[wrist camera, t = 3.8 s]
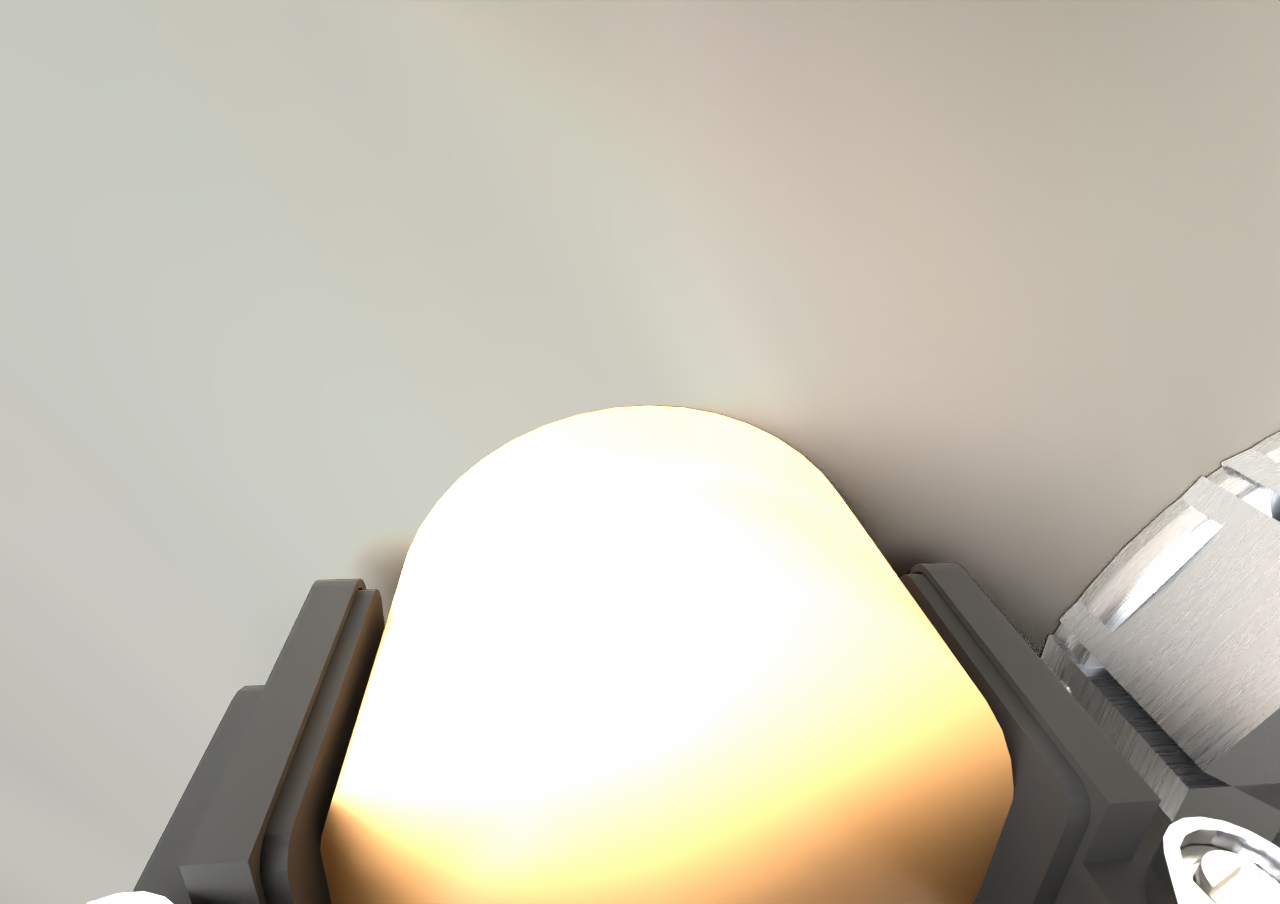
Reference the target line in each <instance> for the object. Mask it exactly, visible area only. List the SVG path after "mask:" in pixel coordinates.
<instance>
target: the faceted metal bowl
mask: <svg viewBox="0 0 1280 904" xmlns="http://www.w3.org/2000/svg"><path fill="white" fill-rule="evenodd" d="M1221 463H1222V467H1221V468H1220V469H1218V470H1217V471H1215V472H1214V473H1212V474H1211V475H1210V476H1208V477H1207V478H1205V477H1204V476H1202V477H1201V478H1200V479H1199V480H1198V481H1197V482H1196V483H1195V484H1194V485H1193V486H1192V487H1191V488H1190V489H1189V490H1188V491H1187V492H1186V493H1185V494H1184V495H1183V496H1182V497H1181V498H1180V499H1178V500H1177V501H1176V502H1175V503H1173V504H1172V505H1171V506H1169V507H1168V508H1167V509H1166V510H1164V511H1163V512H1162V513H1161V514H1160V515H1159V516H1158V517H1157V518H1156V519H1155V520H1154V521H1152V522H1151V523H1150V524H1149V525H1148V526H1147V527H1146V528H1145V529H1144V530H1143V531H1142V532H1141V533H1139V534H1138V535H1137V536H1136V537H1135V538H1134V539H1133V540H1132V541H1131V542H1130V543H1129V544H1127V545H1126V546H1125V547H1124V548H1123V549H1122V550H1121V551H1120V553H1119V554H1118V555H1117V556H1116V557H1115V558H1114V559H1113V560H1112V561H1111V562H1110V564H1109V565H1108V566H1107V567H1106V568H1105V569H1104V570H1103V571H1102V572H1101V574H1100V575H1099V576H1098V577H1097V578H1096V579H1095V580H1094V581H1093V582H1092V583H1091V585H1090V586H1089V587H1088V588H1087V589H1086V591H1085V592H1084V593H1083V595H1082V596H1081V597H1080V599H1079V600H1078V601H1077V602H1076V603H1075V604H1074V605H1073V606H1072V607H1071V608H1070V609H1069V610H1068V611H1067V612H1066V613H1065V614H1064V615H1063V616H1062V617H1061V618H1060V619H1059V621H1060V622H1061V624H1060V626H1059V627H1058V629H1057V630H1056V632H1055V634H1054V635H1049V636H1048V639H1047V642H1046V645H1045V647H1044V650H1043V653H1042V656H1041V658H1040V659H1041V660H1042V661H1043V662H1044V663H1045V664H1046V666H1047V667H1048V668H1049V669H1050V670H1051V671H1052V673H1053V674H1054V675H1055V676H1056V677H1057V678H1058V680H1059V681H1060V682H1061V683H1062V684H1063V686H1064V687H1065V688H1066V689H1067V690H1068V691H1069V693H1070V694H1071V695H1072V696H1073V697H1074V698H1075V700H1076V701H1077V702H1078V703H1079V704H1080V705H1081V707H1082V708H1083V709H1084V710H1085V711H1086V712H1087V714H1088V715H1089V716H1090V717H1091V718H1092V719H1093V721H1094V722H1095V723H1096V724H1097V725H1098V727H1099V728H1100V729H1101V730H1102V731H1103V732H1104V734H1105V735H1106V736H1107V737H1108V738H1109V739H1110V741H1111V742H1112V743H1113V744H1114V745H1115V746H1116V748H1117V749H1118V750H1119V751H1120V752H1121V753H1122V755H1123V756H1124V757H1125V758H1126V759H1127V760H1128V762H1129V763H1130V764H1131V765H1132V766H1133V767H1134V769H1135V770H1136V771H1137V772H1138V773H1139V775H1140V776H1141V777H1142V778H1143V779H1144V780H1145V782H1146V783H1147V784H1148V785H1149V786H1150V787H1151V789H1152V790H1153V791H1154V792H1155V793H1156V794H1157V796H1158V797H1159V798H1160V799H1161V802H1160V804H1159V807H1160V808H1161V809H1162V810H1163V811H1164V813H1165V814H1166V815H1167V816H1168V817H1169V818H1170V820H1171V821H1172V822H1173V823H1174V822H1176V821H1178V820H1180V819H1182V818H1190V817H1206V818H1211V819H1217V820H1222V821H1226V822H1229V823H1231V824H1234V825H1236V826H1239V827H1241V828H1244V829H1247V830H1249V831H1251V832H1253V833H1255V834H1257V835H1258V836H1260V837H1262V838H1264V839H1265V840H1267V841H1269V842H1271V843H1272V844H1274V845H1276V846H1277V847H1279V848H1280V432H1278V433H1276V434H1274V435H1272V436H1270V437H1269V438H1267V439H1265V440H1263V441H1262V442H1260V443H1259V444H1257V445H1256V446H1254V447H1252V448H1251V449H1249V450H1247V451H1245V452H1242V453H1240V454H1238V455H1236V456H1234V457H1232V458H1230V459H1227V460H1225V461H1223V462H1221Z"/></svg>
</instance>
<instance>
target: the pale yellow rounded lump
mask: <svg viewBox="0 0 1280 904" xmlns="http://www.w3.org/2000/svg"><path fill="white" fill-rule="evenodd" d="M1013 792H1014V787H1013V776H1012V765H1011V758H1010V755H1009V751H1008V748H1007V745H1006V742H1005V738H1004V735H1003V732H1002V729H1001V727H1000V725H999V723H998V722H997V720H996V718H995V716H994V714H993V712H992V711H991V709H990V707H989V705H988V703H987V701H986V700H985V698H984V697H983V696H982V694H981V693H980V691H979V690H978V689H977V687H976V686H975V684H974V683H973V682H972V680H971V679H970V677H969V676H968V675H967V673H966V672H965V670H964V669H963V667H962V666H961V665H960V663H959V662H958V660H957V659H956V658H955V656H954V655H953V653H952V652H951V651H950V649H949V648H948V646H947V645H946V644H945V642H944V641H943V639H942V638H941V636H940V635H939V634H938V632H937V631H936V629H935V628H934V627H933V625H932V624H931V622H930V621H929V620H928V618H927V617H926V615H925V614H924V613H923V611H922V610H921V608H920V607H919V606H918V604H917V603H916V601H915V600H914V598H913V597H912V596H911V594H910V593H909V591H908V590H907V589H906V587H905V586H904V584H903V583H902V582H901V580H900V579H899V577H898V576H897V575H896V573H895V572H894V570H893V569H892V568H891V566H890V565H889V563H888V562H887V560H886V559H885V558H884V556H883V555H882V553H881V552H880V551H879V549H878V548H877V546H876V545H875V544H874V542H873V541H872V539H871V538H870V537H869V535H868V534H867V532H866V531H865V529H864V528H863V527H862V525H861V524H860V522H859V521H858V520H857V518H856V517H855V515H854V514H853V513H852V511H851V510H850V508H849V507H848V506H847V504H846V503H845V501H844V500H843V499H842V497H841V496H840V494H839V493H838V492H837V491H836V489H835V488H834V487H833V486H832V484H831V483H830V482H829V481H828V479H827V478H826V477H825V476H824V474H823V473H822V472H821V471H820V470H819V469H817V468H816V467H815V466H814V465H813V464H812V463H811V462H810V461H809V460H808V459H806V458H805V457H804V456H803V455H802V454H801V453H799V452H798V451H796V450H795V449H793V448H792V447H790V446H789V445H787V444H786V443H784V442H783V441H781V440H780V439H778V438H777V437H775V436H773V435H771V434H769V433H767V432H765V431H762V430H760V429H758V428H756V427H754V426H752V425H750V424H748V423H745V422H742V421H738V420H735V419H732V418H729V417H726V416H723V415H720V414H717V413H711V412H706V411H700V410H695V409H689V408H684V407H667V406H649V405H648V406H633V407H618V408H610V409H605V410H599V411H594V412H589V413H584V414H578V415H575V416H572V417H569V418H566V419H563V420H560V421H556V422H553V423H550V424H547V425H544V426H542V427H540V428H538V429H535V430H533V431H531V432H529V433H527V434H525V435H522V436H520V437H518V438H516V439H514V440H512V441H510V442H509V443H507V444H505V445H504V446H502V447H501V448H499V449H497V450H496V451H494V452H493V453H491V454H489V455H488V456H486V457H485V458H483V459H482V460H481V461H480V462H478V463H477V464H476V465H475V466H474V467H472V468H471V469H470V470H469V471H467V472H466V473H465V474H464V475H463V476H461V477H460V478H459V479H458V480H457V481H456V482H455V483H454V484H453V485H452V487H451V488H450V489H449V490H448V491H447V492H446V493H445V494H444V495H443V496H442V497H441V498H440V500H439V501H438V502H437V503H436V505H435V506H434V507H433V509H432V510H431V512H430V513H429V515H428V516H427V518H426V519H425V521H424V522H423V524H422V525H421V526H420V528H419V530H418V532H417V535H416V537H415V539H414V541H413V543H412V545H411V547H410V549H409V551H408V553H407V557H406V560H405V563H404V566H403V570H402V573H401V576H400V580H399V583H398V586H397V589H396V593H395V596H394V599H393V602H392V606H391V609H390V612H389V615H388V619H387V622H386V625H385V629H384V632H383V635H382V638H381V642H380V645H379V648H378V651H377V655H376V658H375V661H374V665H373V668H372V671H371V674H370V678H369V681H368V684H367V687H366V691H365V694H364V697H363V700H362V704H361V707H360V710H359V714H358V717H357V720H356V723H355V727H354V730H353V733H352V736H351V740H350V743H349V746H348V749H347V753H346V756H345V759H344V763H343V766H342V769H341V772H340V776H339V779H338V782H337V785H336V789H335V792H334V795H333V798H332V802H331V805H330V809H329V812H328V815H327V819H326V822H325V825H324V829H323V832H322V836H321V846H320V852H321V857H322V861H323V866H324V871H325V875H326V880H327V885H328V889H329V894H330V899H331V904H973V902H974V901H975V899H976V898H977V896H978V894H979V891H980V888H981V886H982V883H983V880H984V877H985V875H986V872H987V869H988V867H989V864H990V861H991V858H992V856H993V853H994V850H995V847H996V845H997V842H998V839H999V837H1000V834H1001V831H1002V828H1003V826H1004V823H1005V820H1006V817H1007V815H1008V812H1009V809H1010V807H1011V804H1012V801H1013Z"/></svg>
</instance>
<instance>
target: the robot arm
mask: <svg viewBox="0 0 1280 904" xmlns="http://www.w3.org/2000/svg"><path fill="white" fill-rule="evenodd" d="M900 580H901V582H902V583H903V584H904V586H905V587H906V589H907V590H908V591H909V593H910V594H911V596H912V597H913V598H914V600H915V601H916V603H917V604H918V606H919V607H920V608H921V610H922V611H923V613H924V614H925V615H926V617H927V618H928V620H929V621H930V622H931V624H932V625H933V627H934V628H935V629H936V631H937V632H938V634H939V635H940V636H941V638H942V639H943V641H944V642H945V644H946V645H947V646H948V648H949V649H950V651H951V652H952V653H953V655H954V656H955V658H956V659H957V660H958V662H959V663H960V665H961V666H962V667H963V669H964V670H965V672H966V673H967V675H968V676H969V677H970V679H971V680H972V682H973V683H974V684H975V686H976V687H977V689H978V690H979V691H980V693H981V694H982V696H983V697H984V698H985V700H986V701H987V703H988V705H989V707H990V709H991V711H992V712H993V714H994V716H995V718H996V720H997V722H998V723H999V725H1000V727H1001V729H1002V732H1003V735H1004V738H1005V742H1006V745H1007V748H1008V751H1009V755H1010V758H1011V765H1012V776H1013V787H1014V792H1013V801H1012V804H1011V807H1010V809H1009V812H1008V815H1007V817H1006V820H1005V823H1004V826H1003V828H1002V831H1001V834H1000V837H999V839H998V842H997V845H996V847H995V850H994V853H993V856H992V858H991V861H990V864H989V867H988V869H987V872H986V875H985V877H984V880H983V883H982V886H981V888H980V891H979V894H978V896H977V898H976V899H975V901H974V902H973V904H1280V848H1279V847H1277V846H1276V845H1274V844H1272V843H1271V842H1269V841H1267V840H1265V839H1264V838H1262V837H1260V836H1258V835H1257V834H1255V833H1253V832H1251V831H1249V830H1247V829H1244V828H1241V827H1239V826H1236V825H1234V824H1231V823H1229V822H1226V821H1222V820H1217V819H1211V818H1206V817H1190V818H1182V819H1180V820H1178V821H1176V822H1174V823H1173V822H1172V821H1171V820H1170V818H1169V817H1168V816H1167V815H1166V814H1165V813H1164V811H1163V810H1162V809H1161V808H1160V807H1159V804H1160V802H1161V799H1160V798H1159V797H1158V796H1157V794H1156V793H1155V792H1154V791H1153V790H1152V789H1151V787H1150V786H1149V785H1148V784H1147V783H1146V782H1145V780H1144V779H1143V778H1142V777H1141V776H1140V775H1139V773H1138V772H1137V771H1136V770H1135V769H1134V767H1133V766H1132V765H1131V764H1130V763H1129V762H1128V760H1127V759H1126V758H1125V757H1124V756H1123V755H1122V753H1121V752H1120V751H1119V750H1118V749H1117V748H1116V746H1115V745H1114V744H1113V743H1112V742H1111V741H1110V739H1109V738H1108V737H1107V736H1106V735H1105V734H1104V732H1103V731H1102V730H1101V729H1100V728H1099V727H1098V725H1097V724H1096V723H1095V722H1094V721H1093V719H1092V718H1091V717H1090V716H1089V715H1088V714H1087V712H1086V711H1085V710H1084V709H1083V708H1082V707H1081V705H1080V704H1079V703H1078V702H1077V701H1076V700H1075V698H1074V697H1073V696H1072V695H1071V694H1070V693H1069V691H1068V690H1067V689H1066V688H1065V687H1064V686H1063V684H1062V683H1061V682H1060V681H1059V680H1058V678H1057V677H1056V676H1055V675H1054V674H1053V673H1052V671H1051V670H1050V669H1049V668H1048V667H1047V666H1046V664H1045V663H1044V662H1043V661H1042V660H1041V659H1040V657H1039V656H1038V655H1037V654H1036V653H1035V652H1034V650H1033V649H1032V648H1031V647H1030V646H1029V645H1028V643H1027V642H1026V641H1025V640H1024V639H1023V638H1022V636H1021V635H1020V634H1019V633H1018V632H1017V630H1016V629H1015V628H1014V627H1013V626H1012V625H1011V623H1010V622H1009V621H1008V620H1007V619H1006V618H1005V616H1004V615H1003V614H1002V613H1001V612H1000V611H999V609H998V608H997V607H996V606H995V605H994V604H993V602H992V601H991V600H990V599H989V598H988V597H987V595H986V594H985V593H984V592H983V591H982V589H981V588H980V587H979V586H978V585H977V584H976V582H975V581H974V580H973V579H972V578H971V577H970V575H969V574H968V573H967V572H966V571H965V570H964V568H963V567H961V566H960V565H959V564H956V563H927V564H916V565H914V566H913V567H912V569H911V570H910V573H909V574H905V575H902V576H901V578H900ZM384 629H385V625H384V617H383V610H382V602H381V596H380V593H379V590H377V589H375V590H366V587H365V584H364V581H363V580H362V579H336V580H317V581H315V583H314V584H313V586H312V588H311V590H310V592H309V594H308V596H307V598H306V600H305V602H304V604H303V607H302V609H301V611H300V613H299V615H298V617H297V619H296V621H295V623H294V625H293V628H292V630H291V632H290V634H289V636H288V638H287V640H286V642H285V644H284V646H283V649H282V651H281V653H280V655H279V657H278V659H277V661H276V663H275V665H274V667H273V670H272V672H271V674H270V676H269V678H268V680H267V682H266V684H265V685H260V686H245V687H243V688H242V689H240V690H239V691H238V692H237V694H236V695H235V697H234V698H233V700H232V701H231V703H230V705H229V707H228V709H227V711H226V713H225V715H224V717H223V718H222V720H221V722H220V724H219V726H218V728H217V730H216V732H215V734H214V736H213V738H212V740H211V742H210V744H209V745H208V747H207V749H206V751H205V753H204V755H203V757H202V759H201V761H200V763H199V765H198V767H197V769H196V771H195V772H194V774H193V776H192V778H191V780H190V782H189V784H188V786H187V788H186V790H185V792H184V794H183V796H182V798H181V799H180V801H179V803H178V805H177V807H176V809H175V811H174V813H173V815H172V817H171V819H170V821H169V823H168V825H167V827H166V828H165V830H164V832H163V834H162V836H161V838H160V840H159V842H158V844H157V846H156V848H155V850H154V852H153V854H152V855H151V857H150V859H149V861H148V863H147V865H146V867H145V869H144V871H143V873H142V875H141V877H140V879H139V881H138V882H137V884H136V886H135V888H134V890H133V892H127V893H117V894H113V895H110V896H107V897H104V898H101V899H98V900H94V901H91V902H88V903H86V904H331V899H330V894H329V889H328V885H327V880H326V875H325V871H324V866H323V861H322V857H321V852H320V846H321V836H322V832H323V829H324V825H325V822H326V819H327V815H328V812H329V809H330V805H331V802H332V798H333V795H334V792H335V789H336V785H337V782H338V779H339V776H340V772H341V769H342V766H343V763H344V759H345V756H346V753H347V749H348V746H349V743H350V740H351V736H352V733H353V730H354V727H355V723H356V720H357V717H358V714H359V710H360V707H361V704H362V700H363V697H364V694H365V691H366V687H367V684H368V681H369V678H370V674H371V671H372V668H373V665H374V661H375V658H376V655H377V651H378V648H379V645H380V642H381V638H382V635H383V632H384Z"/></svg>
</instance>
